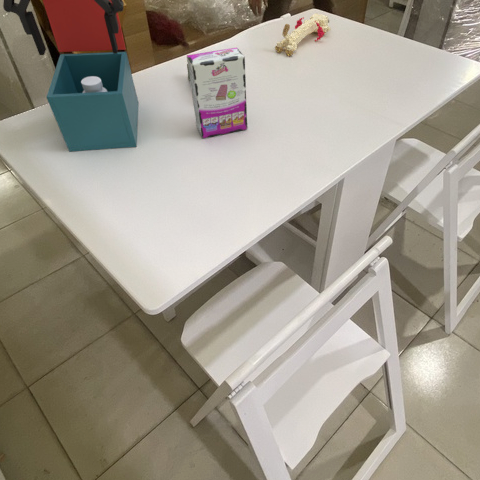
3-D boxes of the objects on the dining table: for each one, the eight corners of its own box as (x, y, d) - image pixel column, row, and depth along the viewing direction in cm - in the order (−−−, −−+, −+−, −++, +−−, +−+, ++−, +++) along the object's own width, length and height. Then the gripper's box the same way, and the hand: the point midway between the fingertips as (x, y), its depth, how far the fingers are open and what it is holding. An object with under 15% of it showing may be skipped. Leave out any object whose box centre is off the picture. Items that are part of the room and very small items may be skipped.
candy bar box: (240, 119, 96) (237, 46, 84) (247, 129, 94) (246, 56, 81) (195, 128, 93) (185, 53, 80) (201, 139, 90) (192, 64, 78)
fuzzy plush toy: (297, 63, 119) (337, 29, 131) (298, 31, 112) (340, -1, 123) (269, 54, 122) (311, 22, 134) (268, 23, 115) (313, -8, 127)
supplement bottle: (92, 118, 92) (78, 75, 85) (117, 116, 93) (104, 73, 86) (91, 130, 89) (76, 87, 81) (116, 128, 90) (103, 85, 82)
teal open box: (136, 146, 88) (122, 93, 78) (69, 151, 86) (46, 97, 76) (138, 102, 99) (126, 51, 90) (79, 106, 97) (60, 54, 88)
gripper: (-63, -91, 58) (6, 61, 75) (117, -85, 62) (144, 58, 79) (-47, -102, 62) (15, 44, 79) (119, -96, 66) (145, 42, 83)
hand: (79, 51), depth 79 cm, fingers open, 13 cm apart
